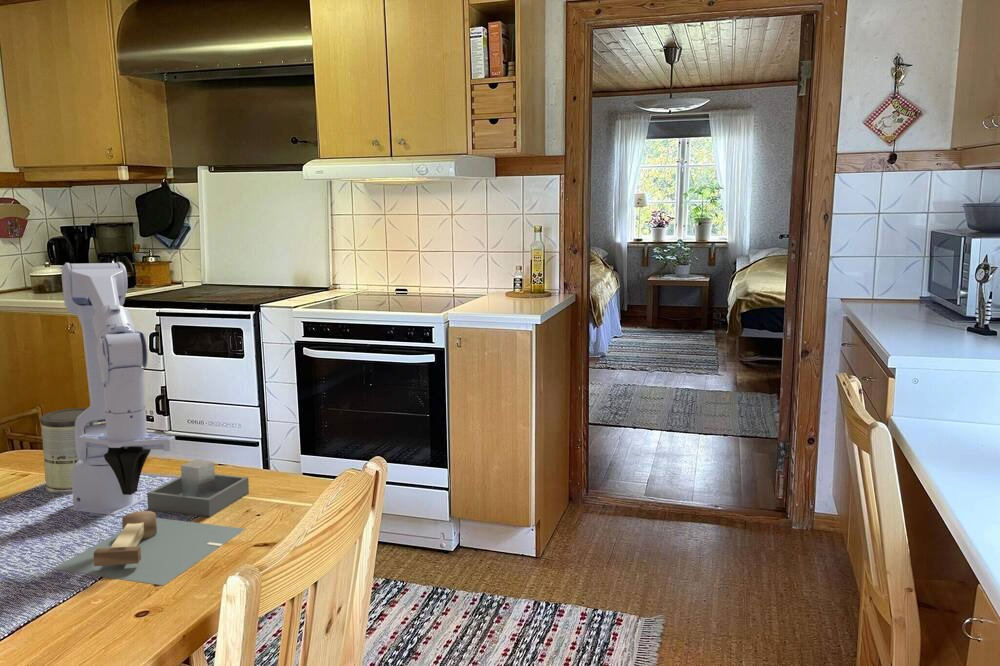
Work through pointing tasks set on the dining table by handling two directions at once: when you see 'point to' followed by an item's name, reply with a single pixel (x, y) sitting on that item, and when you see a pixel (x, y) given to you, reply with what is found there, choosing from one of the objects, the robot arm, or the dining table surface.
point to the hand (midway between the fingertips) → (130, 492)
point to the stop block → (198, 479)
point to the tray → (175, 502)
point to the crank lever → (128, 540)
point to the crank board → (158, 552)
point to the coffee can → (60, 447)
